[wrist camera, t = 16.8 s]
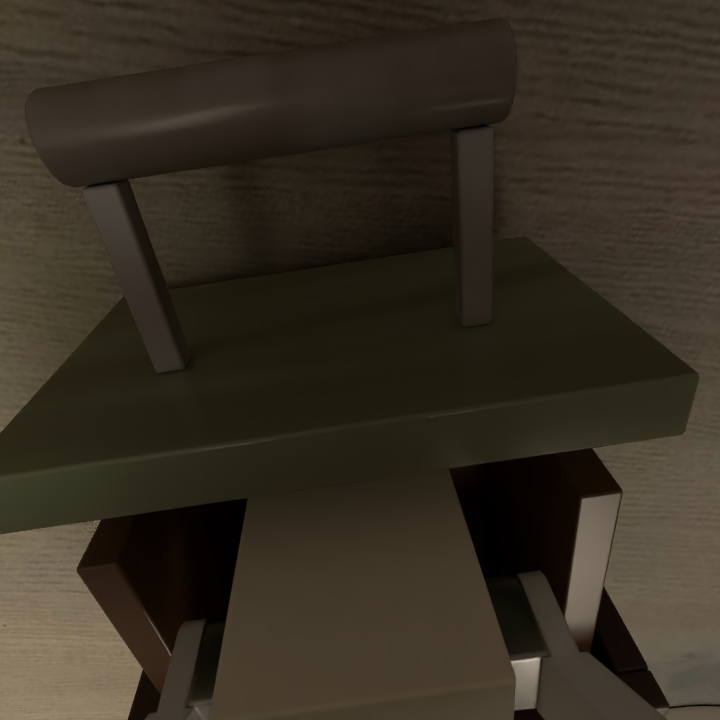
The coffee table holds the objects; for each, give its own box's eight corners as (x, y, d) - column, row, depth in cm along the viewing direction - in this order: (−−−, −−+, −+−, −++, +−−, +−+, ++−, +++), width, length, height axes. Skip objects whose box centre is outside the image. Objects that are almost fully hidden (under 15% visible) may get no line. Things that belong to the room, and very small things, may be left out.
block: (247, 492, 11) (205, 725, 7) (447, 463, 10) (519, 681, 7) (288, 611, 13) (274, 836, 9) (454, 588, 13) (510, 804, 9)
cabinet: (197, 486, 19) (105, 786, 11) (523, 438, 18) (672, 706, 11) (279, 682, 26) (260, 943, 18) (512, 649, 26) (594, 897, 18)
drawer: (41, 99, 11) (-326, 129, 5) (535, 22, 11) (817, -47, 5) (244, 589, 20) (209, 817, 14) (511, 550, 20) (596, 763, 14)
